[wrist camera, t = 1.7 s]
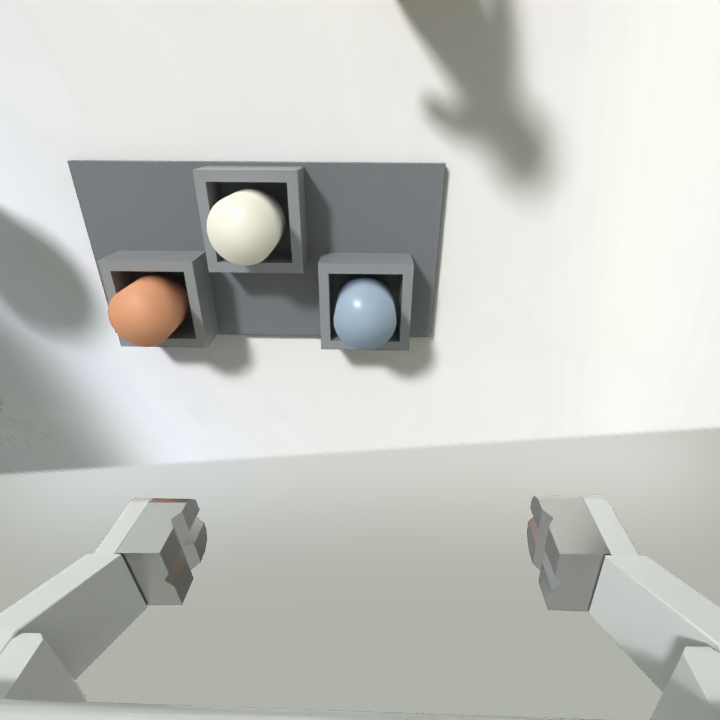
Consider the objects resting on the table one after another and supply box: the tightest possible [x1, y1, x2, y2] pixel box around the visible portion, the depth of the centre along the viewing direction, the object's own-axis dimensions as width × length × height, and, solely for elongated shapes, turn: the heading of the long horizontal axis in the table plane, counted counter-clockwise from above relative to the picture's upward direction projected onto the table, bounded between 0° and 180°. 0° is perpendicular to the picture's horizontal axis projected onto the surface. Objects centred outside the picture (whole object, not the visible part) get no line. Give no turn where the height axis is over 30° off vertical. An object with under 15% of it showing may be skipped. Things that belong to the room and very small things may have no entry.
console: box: [68, 160, 446, 350], centre depth 27 cm, size 22×11×3 cm, turn 90°
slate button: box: [334, 275, 396, 350], centre depth 27 cm, size 4×4×3 cm
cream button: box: [207, 188, 286, 266], centre depth 24 cm, size 4×4×3 cm
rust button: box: [108, 273, 190, 347], centre depth 27 cm, size 4×4×3 cm
